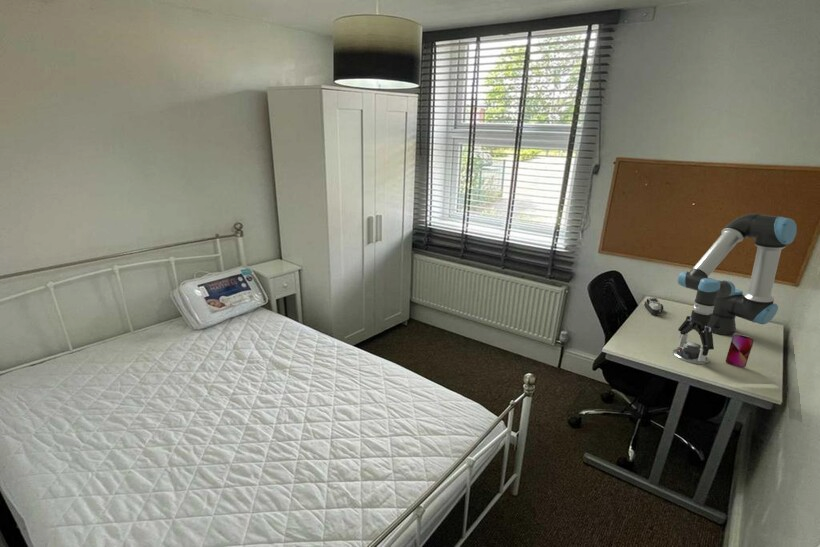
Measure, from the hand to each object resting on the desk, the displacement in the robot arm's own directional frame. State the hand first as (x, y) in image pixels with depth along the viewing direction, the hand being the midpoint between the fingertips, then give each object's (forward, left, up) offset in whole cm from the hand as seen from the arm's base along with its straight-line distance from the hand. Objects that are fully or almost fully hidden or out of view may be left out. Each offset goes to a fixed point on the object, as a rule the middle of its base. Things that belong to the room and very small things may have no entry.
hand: (691, 353), depth 188 cm
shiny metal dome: (0, 0, -2) cm, 2 cm away
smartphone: (-16, +7, -2) cm, 18 cm away
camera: (-14, -52, -2) cm, 54 cm away
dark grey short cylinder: (0, 0, -1) cm, 1 cm away
